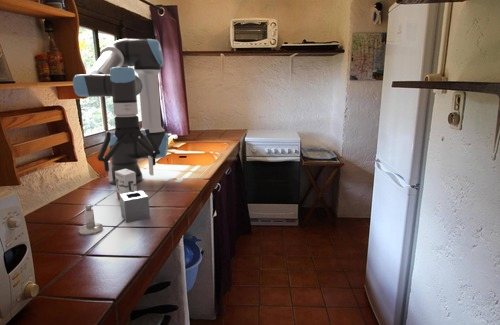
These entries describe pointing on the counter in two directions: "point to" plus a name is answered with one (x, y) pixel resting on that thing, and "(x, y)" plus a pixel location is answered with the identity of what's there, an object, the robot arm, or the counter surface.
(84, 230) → the hub
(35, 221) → the counter surface
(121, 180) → the ink box
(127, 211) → the block
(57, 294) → the counter surface
